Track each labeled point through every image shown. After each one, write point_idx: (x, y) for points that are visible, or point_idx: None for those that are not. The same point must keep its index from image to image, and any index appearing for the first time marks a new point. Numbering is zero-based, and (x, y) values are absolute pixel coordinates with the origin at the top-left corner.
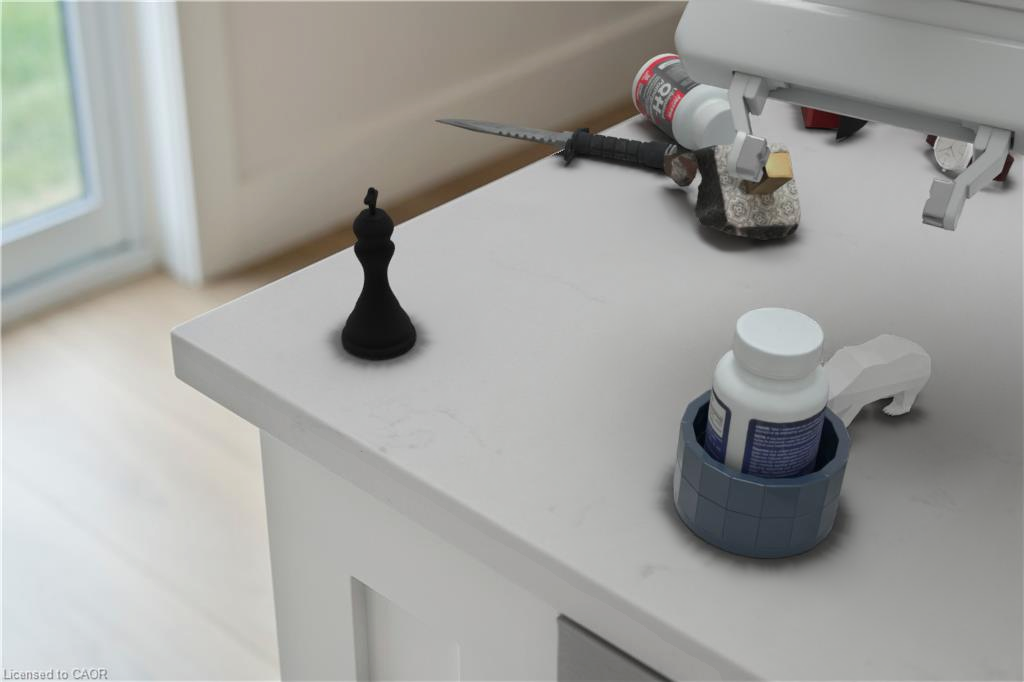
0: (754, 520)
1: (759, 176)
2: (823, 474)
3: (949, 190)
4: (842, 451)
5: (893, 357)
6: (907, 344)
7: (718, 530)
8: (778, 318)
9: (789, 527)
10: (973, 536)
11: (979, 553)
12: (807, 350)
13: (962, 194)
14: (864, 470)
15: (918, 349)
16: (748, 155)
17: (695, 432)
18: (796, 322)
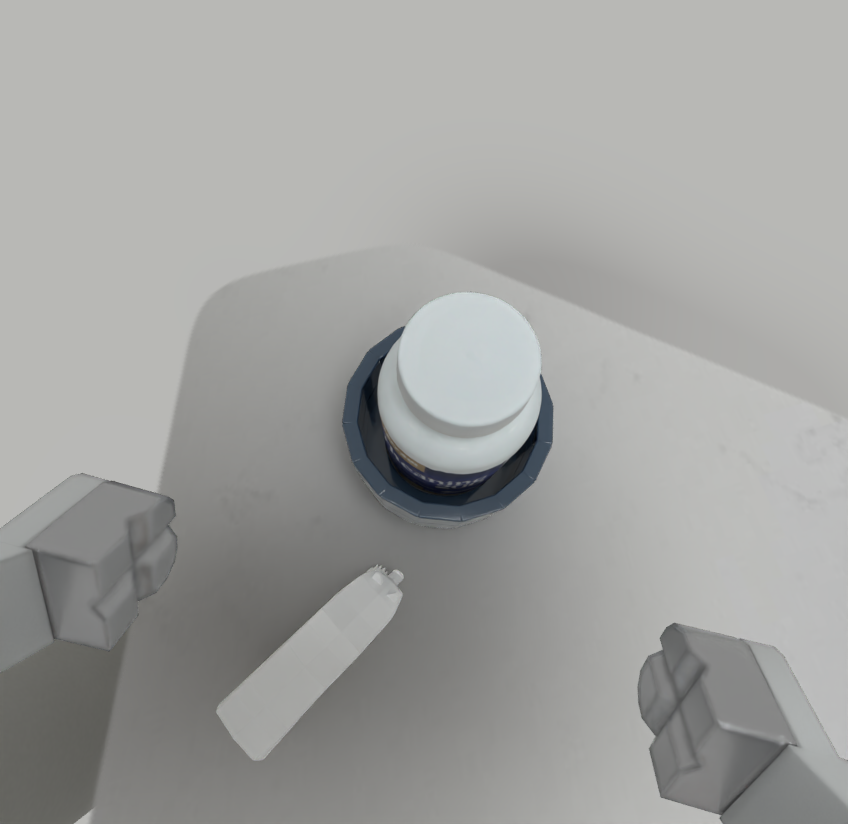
0: None
1: (647, 678)
2: (374, 352)
3: (58, 524)
4: (353, 399)
5: (276, 658)
6: (250, 704)
7: None
8: (476, 389)
9: None
10: (209, 450)
11: (207, 426)
12: (421, 312)
13: (20, 514)
14: (321, 532)
15: (233, 713)
16: (729, 663)
17: (529, 440)
18: (445, 384)
